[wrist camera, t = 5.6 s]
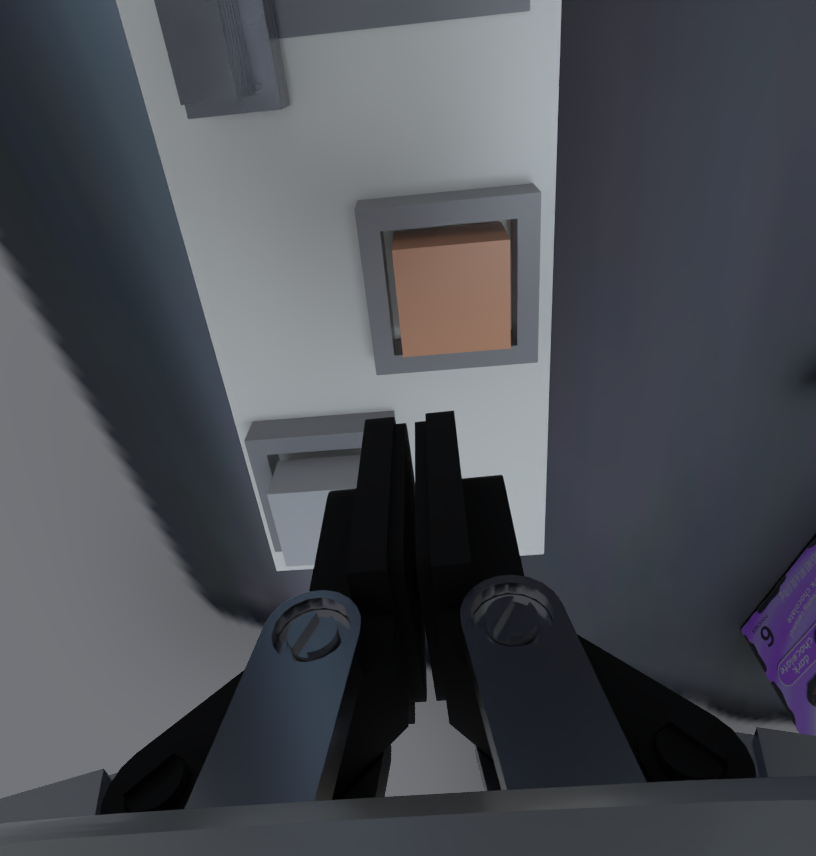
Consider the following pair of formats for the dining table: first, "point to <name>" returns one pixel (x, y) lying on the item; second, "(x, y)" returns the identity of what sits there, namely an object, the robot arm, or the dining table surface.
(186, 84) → the dark slider
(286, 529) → the grey button
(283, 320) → the panel
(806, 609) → the candy box
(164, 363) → the dining table surface
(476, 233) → the terracotta button
